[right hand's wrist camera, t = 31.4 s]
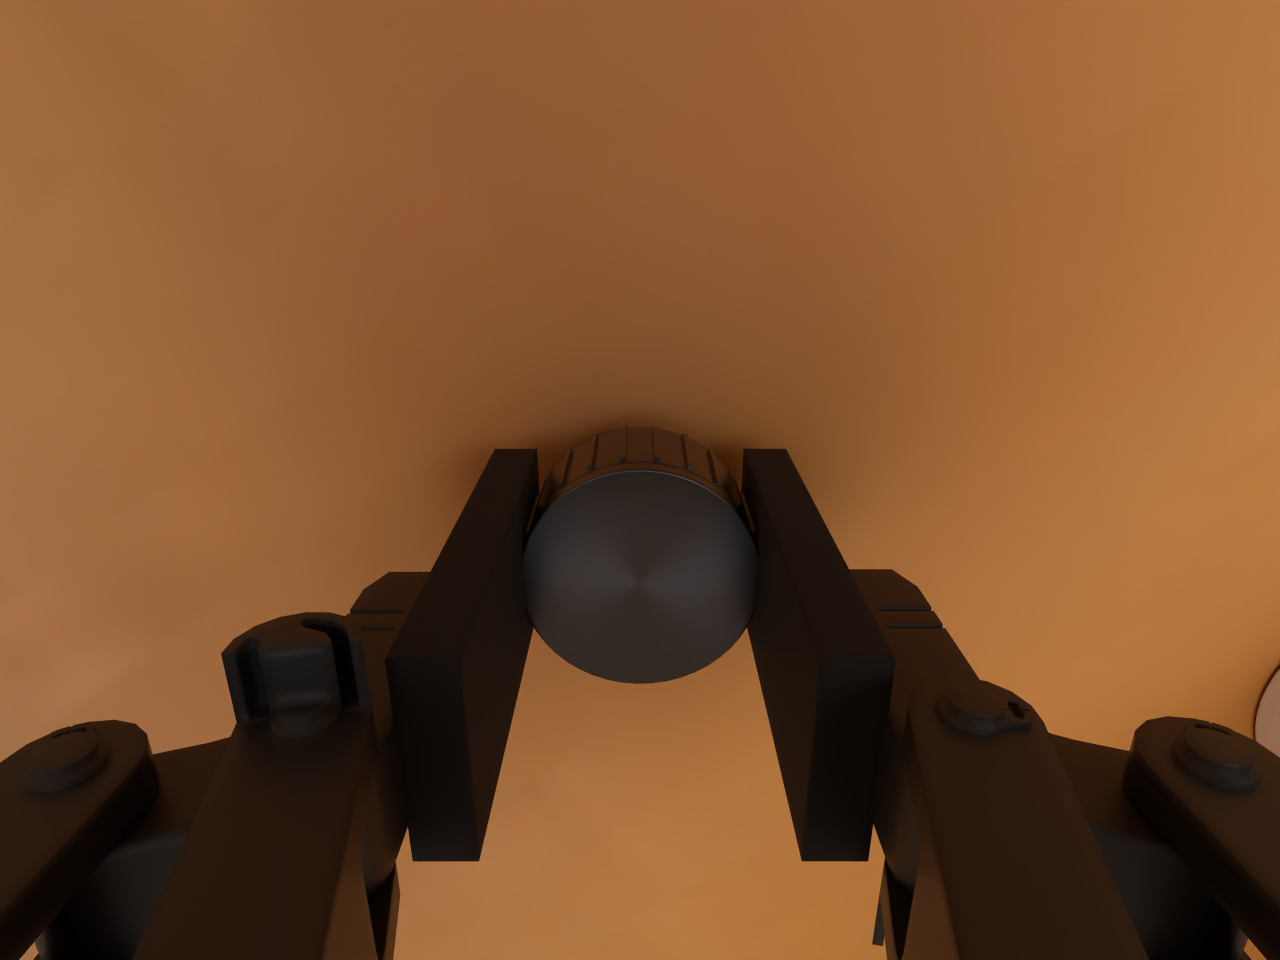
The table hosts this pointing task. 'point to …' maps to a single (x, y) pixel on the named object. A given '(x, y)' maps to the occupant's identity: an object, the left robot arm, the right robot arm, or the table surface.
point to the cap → (640, 557)
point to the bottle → (1269, 717)
